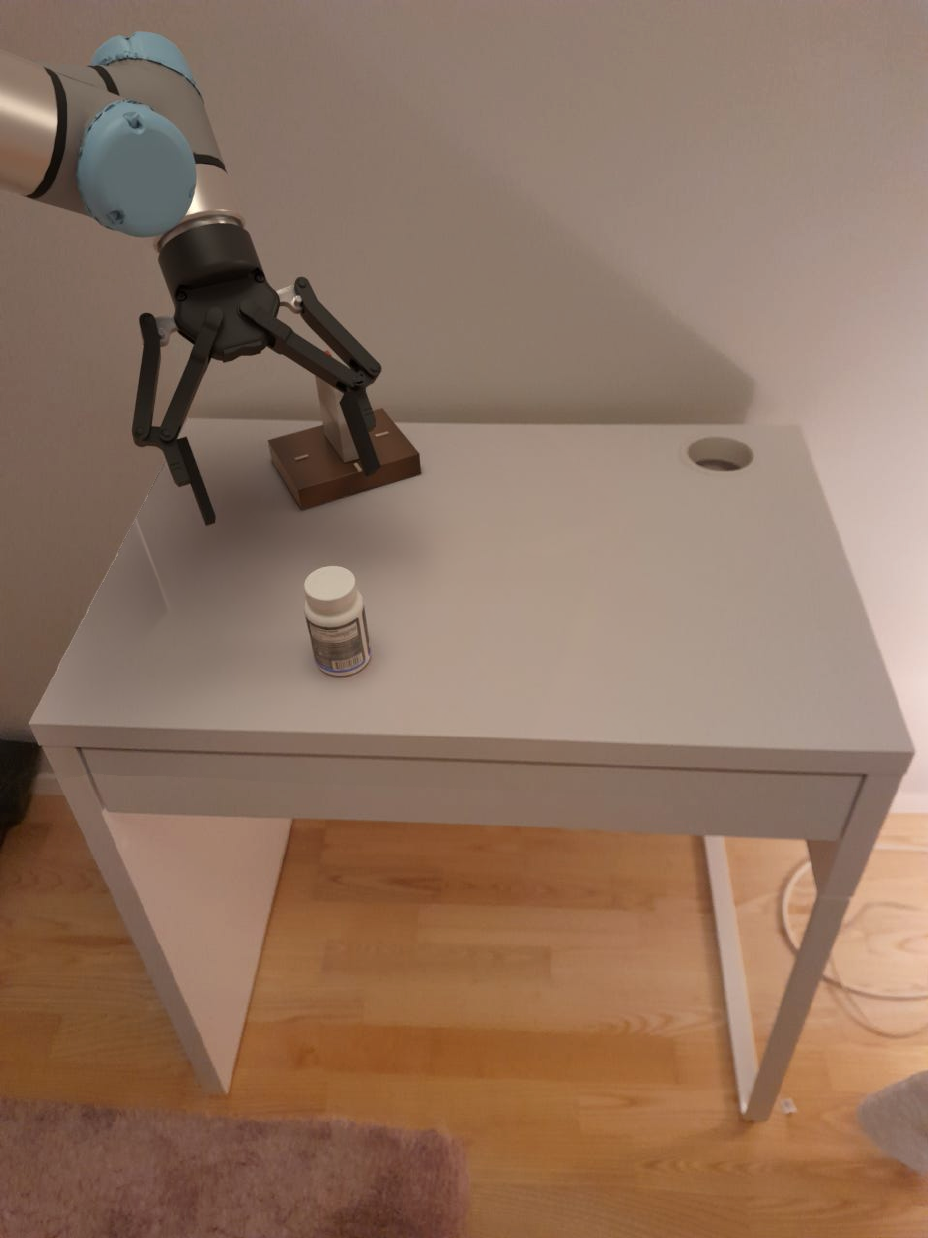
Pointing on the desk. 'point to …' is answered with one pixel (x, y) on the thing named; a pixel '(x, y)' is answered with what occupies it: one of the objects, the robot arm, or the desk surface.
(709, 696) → the desk surface
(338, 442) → the red-topped gray slab
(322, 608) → the pill bottle
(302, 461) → the panel
